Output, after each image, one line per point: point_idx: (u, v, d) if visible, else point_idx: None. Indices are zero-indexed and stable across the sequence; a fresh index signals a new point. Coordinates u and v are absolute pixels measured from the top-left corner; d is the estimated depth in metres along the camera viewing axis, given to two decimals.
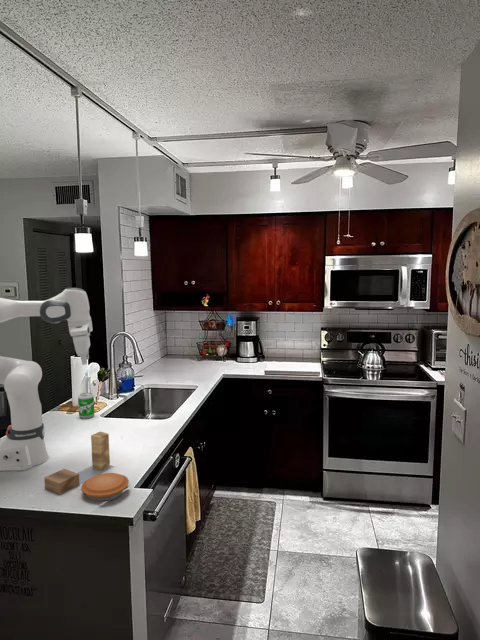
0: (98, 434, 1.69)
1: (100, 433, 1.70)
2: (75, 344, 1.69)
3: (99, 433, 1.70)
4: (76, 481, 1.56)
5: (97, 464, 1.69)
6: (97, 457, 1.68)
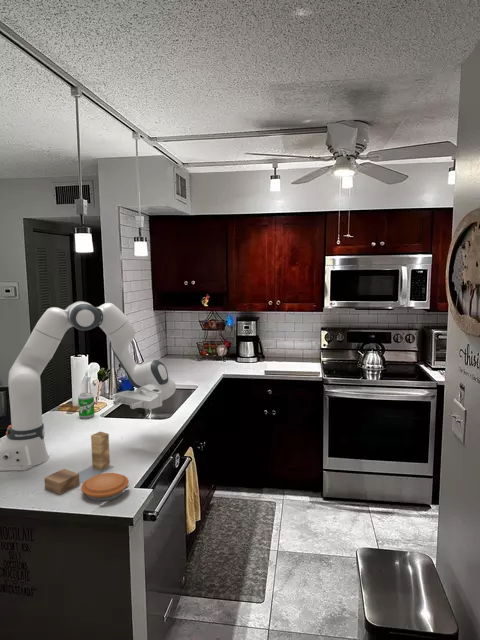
0: (98, 434, 1.69)
1: (100, 433, 1.70)
2: (156, 398, 1.81)
3: (99, 433, 1.70)
4: (76, 481, 1.56)
5: (97, 464, 1.69)
6: (97, 457, 1.68)
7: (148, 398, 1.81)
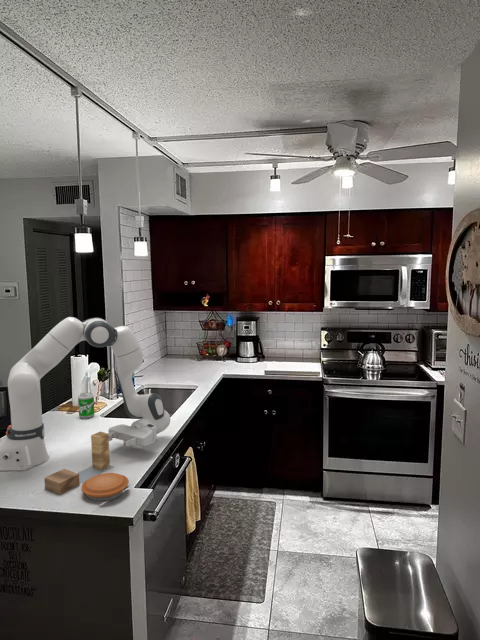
0: (98, 434, 1.69)
1: (100, 433, 1.70)
2: (150, 434, 1.80)
3: (99, 433, 1.70)
4: (76, 481, 1.56)
5: (97, 464, 1.69)
6: (97, 457, 1.68)
7: (142, 434, 1.79)
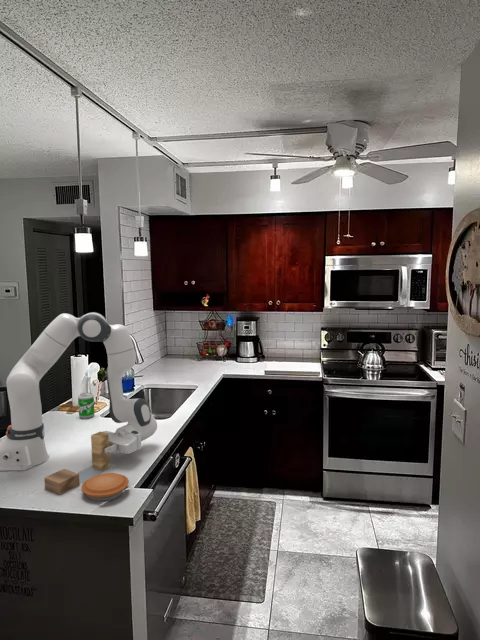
0: (98, 434, 1.69)
1: (100, 433, 1.70)
2: (134, 441, 1.72)
3: (99, 433, 1.70)
4: (76, 481, 1.56)
5: (97, 464, 1.69)
6: (97, 457, 1.68)
7: (126, 442, 1.71)
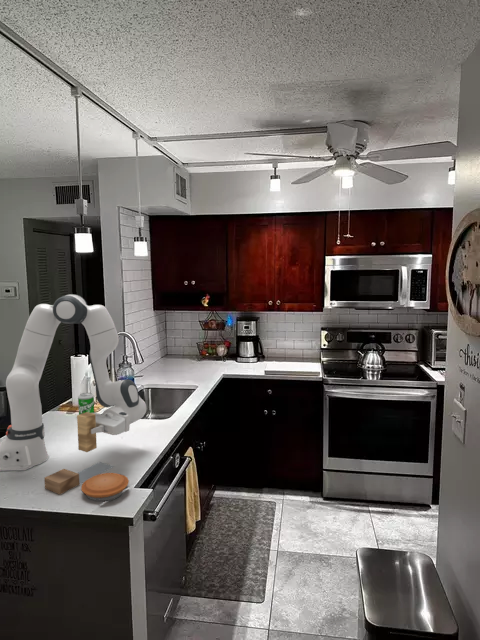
0: (84, 414, 1.63)
1: (87, 413, 1.64)
2: (122, 422, 1.66)
3: (85, 413, 1.64)
4: (76, 481, 1.56)
5: (83, 445, 1.63)
6: (83, 439, 1.62)
7: (113, 423, 1.65)
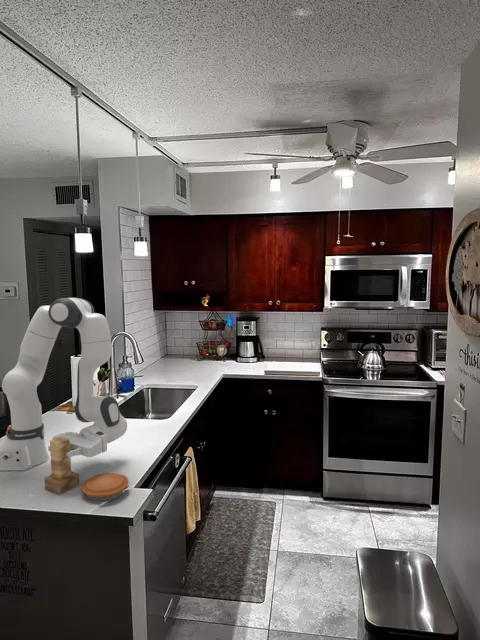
0: (58, 439, 1.54)
1: (60, 438, 1.55)
2: (98, 443, 1.56)
3: (59, 438, 1.55)
4: (76, 481, 1.56)
5: (56, 472, 1.53)
6: (56, 465, 1.53)
7: (89, 444, 1.56)
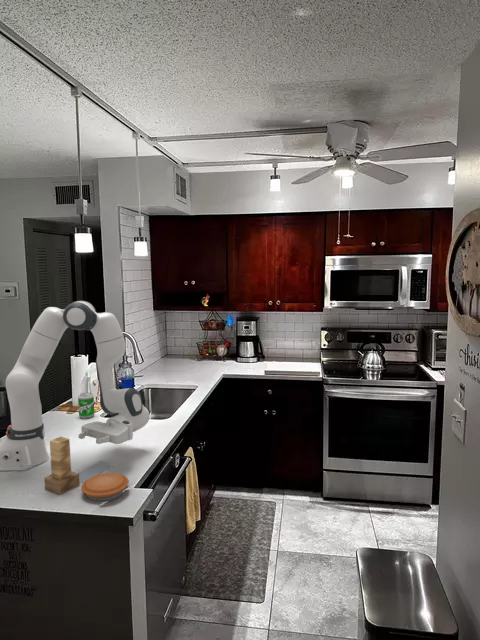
0: (58, 439, 1.54)
1: (60, 438, 1.55)
2: (125, 431, 1.67)
3: (59, 438, 1.55)
4: (76, 481, 1.56)
5: (56, 472, 1.53)
6: (56, 465, 1.53)
7: (116, 432, 1.67)
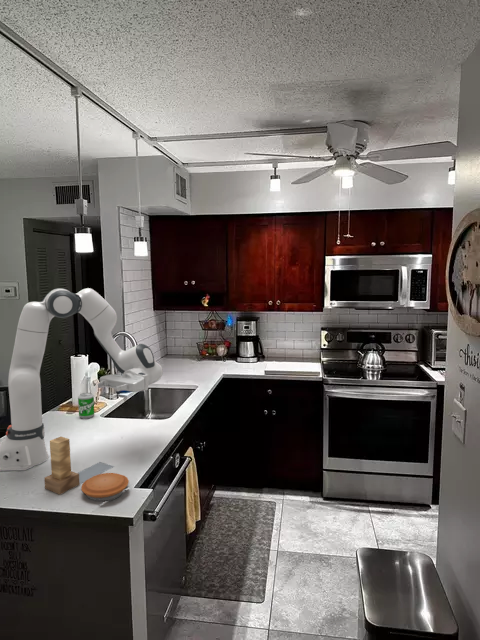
0: (58, 439, 1.54)
1: (60, 438, 1.55)
2: (141, 381, 1.77)
3: (59, 438, 1.55)
4: (76, 481, 1.56)
5: (56, 472, 1.53)
6: (56, 465, 1.53)
7: (133, 381, 1.77)
